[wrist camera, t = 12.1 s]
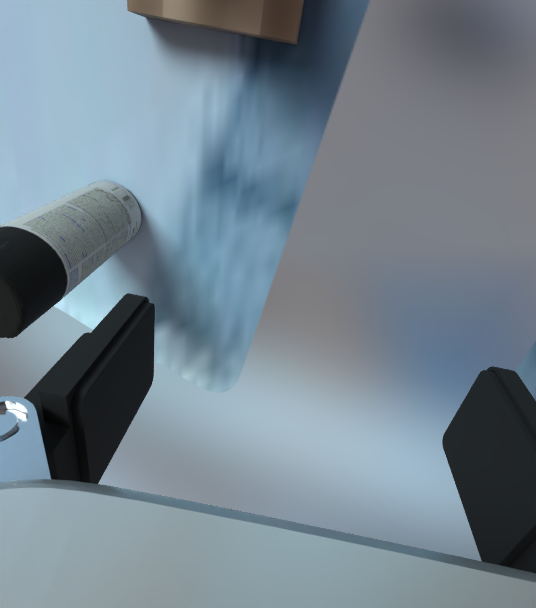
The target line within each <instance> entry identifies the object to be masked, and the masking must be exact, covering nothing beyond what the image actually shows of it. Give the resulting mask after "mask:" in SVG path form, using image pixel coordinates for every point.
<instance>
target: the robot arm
mask: <svg viewBox="0 0 536 608" xmlns="http://www.w3.org/2000/svg"><path fill="white" fill-rule="evenodd" d="M154 319H155V306H154V304H153V303H149V299H148V298H147V297H143V296H138V295H133V294H126V295H124V297H123V298H122V299H121V300H120V301H119V302H118V303H117V304H116V305H115V307H114V308H113V309H112V310H111V311H110V312H109V313H108V314H107V316H106V317H105V318H104V319H103V320H102V321H101V322H100V323H99V324H98V326H97V327H96V328H95V329H94V330H93V331H92V332H91V333H85V334H83V335H82V336H81V337H80V338H79V339H78V340H77V341H76V342H75V343H74V344H73V345H72V347H71V348H70V349H69V350H68V351H67V352H66V353H65V354H64V355H63V356H62V357H61V359H60V360H59V361H58V362H57V363H56V364H55V365H54V366H53V367H52V368H51V369H50V370H49V371H48V373H47V374H46V375H45V376H44V377H43V378H42V379H41V380H40V381H39V382H38V383H37V385H36V386H35V387H34V388H33V389H32V390H31V391H30V392H29V393H28V394H27V395H26V396H25V397H24V398H20V397H15V396H3V397H0V608H536V401H535V399H534V398H533V396H532V395H531V393H530V392H529V391H528V389H527V388H526V386H525V385H524V383H523V382H522V380H521V379H520V377H519V376H518V374H517V373H516V372H515V371H512V370H508V369H503V368H497V367H490V368H488V369H487V370H483V371H481V372H480V374H479V375H478V377H477V379H476V381H475V382H474V384H473V385H472V387H471V389H470V391H469V393H468V394H467V396H466V398H465V399H464V401H463V403H462V404H461V406H460V408H459V410H458V411H457V413H456V415H455V417H454V418H453V420H452V421H451V423H450V425H449V427H448V428H447V430H446V432H445V433H444V436H443V449H444V451H445V454H446V457H447V460H448V463H449V466H450V469H451V472H452V475H453V478H454V481H455V484H456V487H457V490H458V493H459V495H460V498H461V501H462V504H463V507H464V510H465V513H466V516H467V519H468V522H469V525H470V528H471V531H472V534H473V536H474V539H475V542H476V545H477V548H478V551H479V554H480V557H481V560H482V562H481V561H477V560H472V559H467V558H463V557H458V556H453V555H449V554H444V553H439V552H435V551H429V550H425V549H420V548H416V547H411V546H406V545H402V544H397V543H392V542H387V541H382V540H377V539H373V538H368V537H363V536H358V535H354V534H349V533H344V532H339V531H334V530H329V529H325V528H320V527H315V526H310V525H305V524H300V523H296V522H291V521H286V520H281V519H276V518H271V517H266V516H261V515H256V514H251V513H246V512H241V511H237V510H232V509H227V508H221V507H217V506H212V505H207V504H202V503H197V502H192V501H187V500H182V499H176V498H172V497H167V496H161V495H156V494H150V493H145V492H139V491H134V490H128V489H122V488H118V487H112V486H107V485H100V484H98V483H99V481H100V479H101V477H102V475H103V473H104V472H105V470H106V468H107V466H108V464H109V462H110V460H111V459H112V457H113V455H114V453H115V451H116V450H117V448H118V446H119V444H120V442H121V440H122V439H123V437H124V435H125V433H126V431H127V429H128V427H129V425H130V424H131V422H132V420H133V418H134V416H135V415H136V413H137V411H138V409H139V407H140V405H141V404H142V402H143V400H144V398H145V396H146V395H147V393H148V391H149V389H150V387H151V385H152V381H153V376H154Z"/></svg>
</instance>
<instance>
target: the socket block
mask: <svg viewBox="0 0 536 608" xmlns="http://www.w3.org/2000/svg"><path fill="white" fill-rule="evenodd" d="M127 6H128V11H130V12H133V13H135V14H138V15H141V16H144V17H147V18H153V19H158V20H164V21H169V22H175V23H180V24H185V25H191V26H196V27H202V28H207V29H212V30H218V31H223V32H229V33H234V34H240V35H245V36H250V37H256V38H261V39H267V40H272V41H278V42H283V43H288V44H294V45H297V43H298V37H299V30H300V24H301V18H302V12H303V6H304V0H127Z"/></svg>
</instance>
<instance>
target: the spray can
mask: <svg viewBox="0 0 536 608" xmlns="http://www.w3.org/2000/svg"><path fill="white" fill-rule="evenodd" d="M141 221H142V215H141V211H140V208H139V205H138V202H137V200H136V199H135V197H134V196H133V195H132V194H131V192H130V191H129V190H127V189H125V188H124V187H122V186H120V185H119V184H116V183H113V182H108V181H100V182H95V183H92V184H90V185H88V186H86V187H84V188H82V189H79V190H77V191H75V192H73V193H71V194H68V195H66V196H64V197H62V198H60V199H58V200H55V201H53V202H51V203H49V204H47V205H44V206H42V207H40V208H38V209H36V210H34V211H31V212H29V213H27V214H25V215H23V216H20V217H18V218H16V219H14V220H12V221H10V222H7V223H5V224H3V225H1V226H0V338H4V337H7V338H14V337H16V336H18V335H19V334H20V333H21V332H22V331H23V330H24V329H26V328H27V327H28V326H29V325H30V324H32V323H33V322H34V321H35V320H37V319H38V318H39V317H40V316H41V315H43V314H44V313H45V312H46V311H48V310H49V309H50V308H51V307H53V306H54V305H55V304H56V303H58V302H59V301H60V300H61V299H62V298H63V297H64V296H66V295H67V294H68V293H69V292H70V291H72V290H73V289H74V288H75V287H76V286H77V285H78V284H80V283H81V282H82V281H83V280H84V279H85V278H87V277H88V276H89V275H90V274H91V273H92V272H94V271H95V270H96V269H97V268H98V267H99V266H101V265H102V264H103V263H104V262H105V261H106V260H107V259H109V258H110V257H111V256H112V255H113V254H114V253H116V252H117V251H118V250H119V249H120V248H121V247H122V246H124V245H125V244H126V243H127V242H128V241H129V240H131V239H132V238H133V237H134V236H135V235H136V233H137V232H138V230H139V228H140V225H141Z"/></svg>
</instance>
